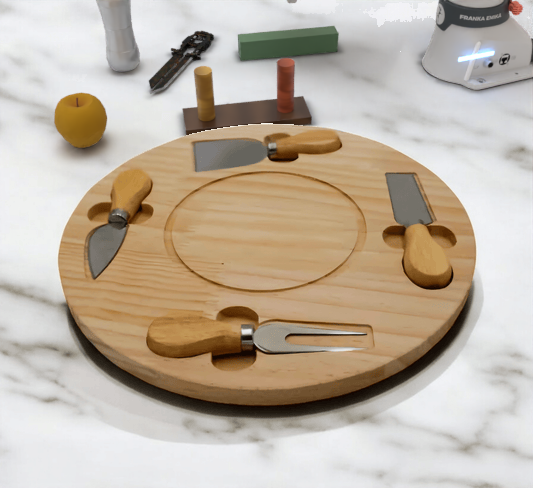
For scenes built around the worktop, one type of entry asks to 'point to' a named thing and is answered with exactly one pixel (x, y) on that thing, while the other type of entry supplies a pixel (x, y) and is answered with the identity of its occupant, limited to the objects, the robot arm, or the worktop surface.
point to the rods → (246, 104)
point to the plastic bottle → (119, 34)
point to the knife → (184, 61)
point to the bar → (287, 43)
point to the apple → (80, 119)
